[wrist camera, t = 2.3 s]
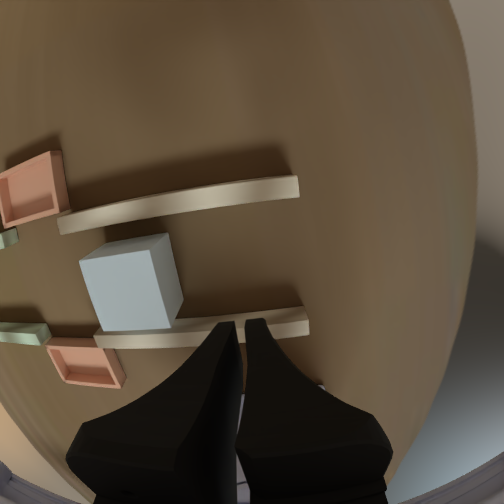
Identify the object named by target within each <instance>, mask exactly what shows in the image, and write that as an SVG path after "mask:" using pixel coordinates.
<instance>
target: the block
mask: <svg viewBox="0 0 504 504" xmlns="http://www.w3.org/2000/svg"><path fill="white" fill-rule="evenodd" d="M79 263H80V267H81V270H82V273H83V276H84V280H85V283H86V286H87V289H88V292H89V294H90V297H91V300H92V303H93V306H94V309H95V311H96V314H97V317H98V319H99V322H100V324H101V327H102V329H103V331H128V330H148V329H165V328H171V327H172V325H173V322H174V320H175V318H176V316H177V313H178V311H179V309H180V307H181V305H182V303H183V300H184V298H183V294H182V290H181V286H180V282H179V278H178V274H177V270H176V265H175V261H174V257H173V252H172V248H171V243H170V239H169V234H168V232H167V233H161V234H155V235H149V236H143V237H137V238H131V239H125V240H120V241H114V242H108V243H105V244H103V245H102V246H100V247H99V248H97V249H96V250H94V251H93V252H91V253H90V254H88V255H87V256H85V257H84V258H82V259H81V260H79Z"/></svg>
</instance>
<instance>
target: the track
mask: <svg viewBox="0 0 504 504" xmlns="http://www.w3.org/2000/svg"><path fill="white" fill-rule="evenodd" d="M295 197H300V196H299V186H298V177H297V176H296V175H293V174H291V175H282V176H273V177H264V178H256V179H248V180H240V181H233V182H226V183H219V184H212V185H206V186H199V187H193V188H187V189H181V190H176V191H170V192H164V193H159V194H154V195H149V196H143V197H138V198H133V199H129V200H124V201H119V202H115V203H110V204H106V205H101V206H97V207H92V208H88V209H84V210H80V211H76V212H72V213H69V214H66V215H64V216H61V217H59V218H57V223H58V227H59V232H60V235H63V234H68V233H72V232H77V231H82V230H87V229H92V228H97V227H102V226H107V225H112V224H118V223H123V222H128V221H134V220H140V219H145V218H151V217H157V216H163V215H169V214H175V213H182V212H188V211H195V210H201V209H208V208H215V207H222V206H229V205H237V204H244V203H252V202H260V201H268V200H277V199H286V198H295ZM16 242H19V239H18V235H17V231H16V228H14V229H11V230H8V231H4V232H1V233H0V249H3V248H6V247H8V246H10V245H12V244H14V243H16ZM255 318H264V319H265V320H266V323H267V326H268V328H269V330H270V332H271V334H272V336H273V338H274V339H282V338H290V337H297V336H304V335H309V320H308V317H307V313H306V310H305V307H304V306H299V307H291V308H283V309H275V310H267V311H258V312H249V313H240V314H230V315H220V316H209V317H197V318H184V319H175V320H174V322H173V325H172V327H171V328H165V329H148V330H128V331H103V329H102V327H101V326H100V328H99V329H98V330H97V331H96V333H95V334H94V335H93V337H94V339H95V341H96V344H97V346H98V348H118V349H130V348H173V347H194V346H200V345H201V343H202V342H203V341H204V340H205V338H206V337H207V336H208V334H209V333H210V332H211V331H212V329H213V328H214V327H215V326H216V324H217V323H218V322H226V321H235V326H236V331H237V337H238V342H239V343H246V341H245V332H244V326H245V321H246V319H255ZM50 335H51V333H50V330H49V328H48V326H47V323H8V322H0V341H2V342H10V343H20V344H30V345H42V343H43V342H44V341H45V340H46V339H47V338H48V337H49V336H50Z"/></svg>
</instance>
